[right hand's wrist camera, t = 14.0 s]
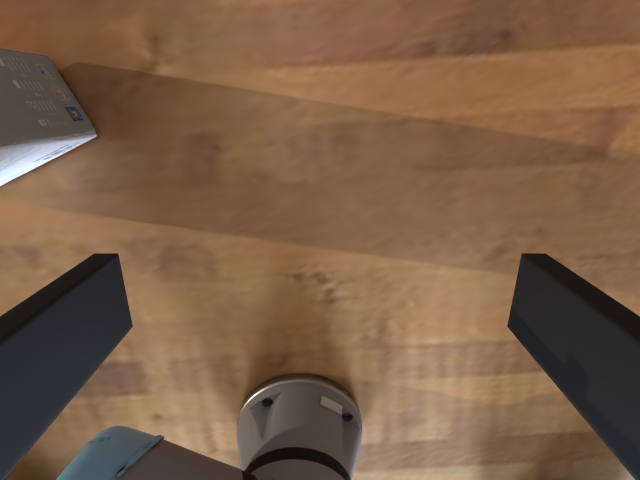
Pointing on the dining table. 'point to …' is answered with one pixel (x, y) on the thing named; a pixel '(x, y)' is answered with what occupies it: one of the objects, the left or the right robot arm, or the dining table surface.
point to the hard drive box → (36, 114)
